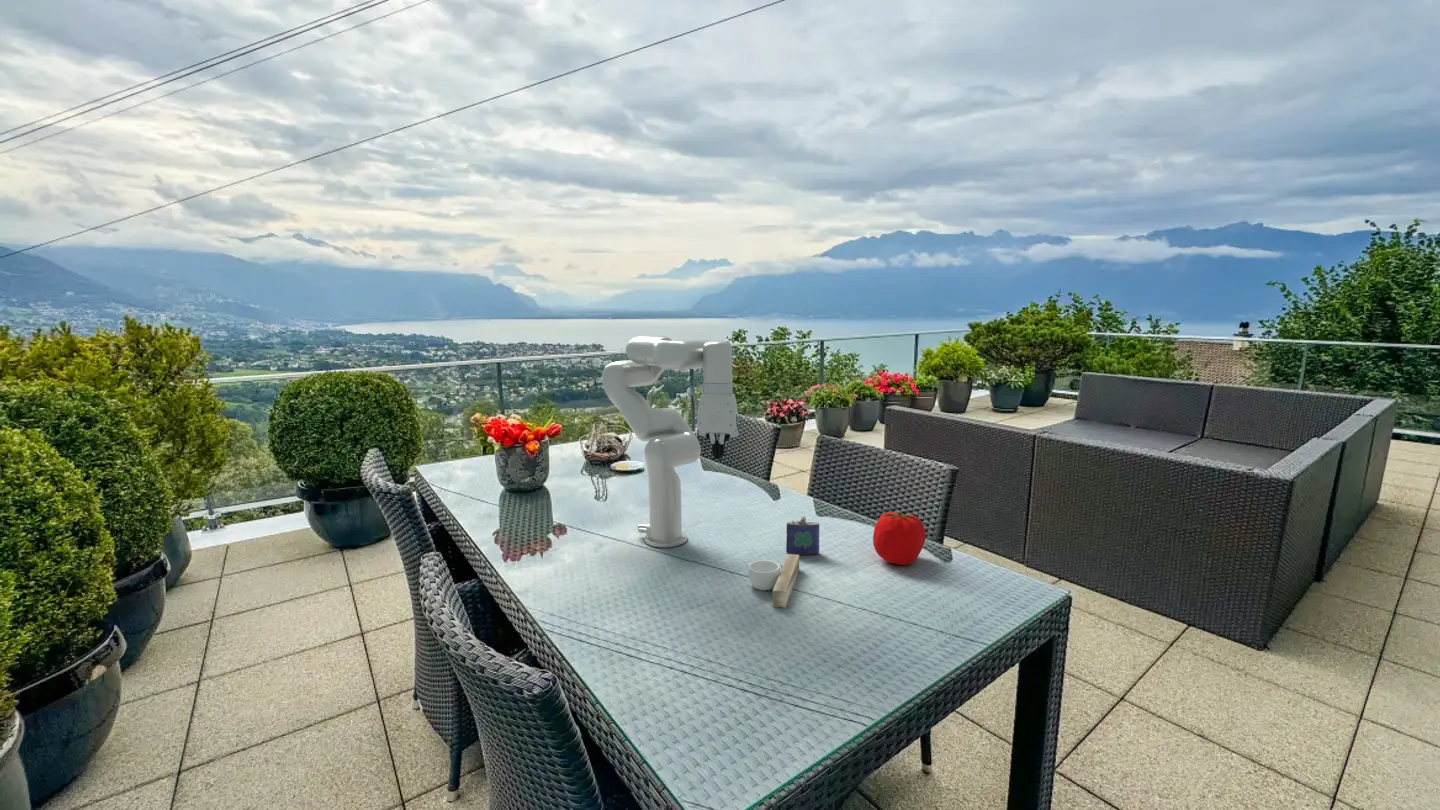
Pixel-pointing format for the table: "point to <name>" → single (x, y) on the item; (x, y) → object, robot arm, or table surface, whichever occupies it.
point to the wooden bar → (785, 581)
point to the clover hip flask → (802, 537)
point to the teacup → (764, 574)
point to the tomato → (898, 537)
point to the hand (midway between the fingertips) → (718, 457)
